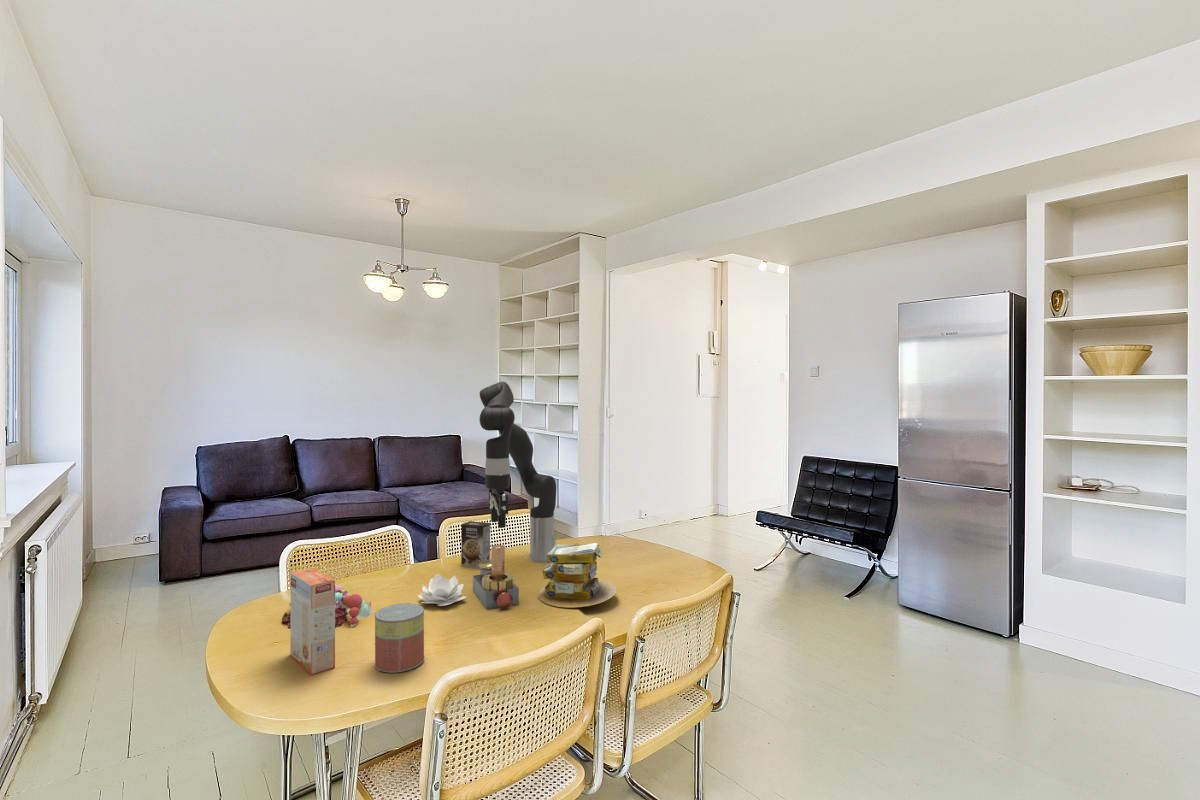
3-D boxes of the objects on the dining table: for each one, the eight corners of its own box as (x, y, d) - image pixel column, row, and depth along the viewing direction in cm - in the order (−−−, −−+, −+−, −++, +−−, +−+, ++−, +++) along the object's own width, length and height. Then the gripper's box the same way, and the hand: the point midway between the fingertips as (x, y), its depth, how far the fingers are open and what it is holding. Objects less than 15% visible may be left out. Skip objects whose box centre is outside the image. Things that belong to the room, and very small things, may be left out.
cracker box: (337, 668, 137) (336, 579, 137) (309, 677, 133) (309, 585, 132) (315, 649, 147) (315, 566, 147) (289, 657, 143) (289, 571, 142)
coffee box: (460, 567, 216) (460, 524, 216) (469, 562, 223) (469, 520, 222) (482, 569, 214) (482, 525, 214) (490, 564, 220) (490, 522, 220)
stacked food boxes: (594, 611, 170) (594, 553, 172) (523, 601, 181) (523, 547, 182) (627, 592, 192) (627, 541, 194) (562, 585, 203) (562, 536, 204)
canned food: (407, 647, 148) (407, 600, 148) (433, 660, 141) (433, 610, 141) (365, 663, 140) (365, 613, 139) (391, 677, 132) (391, 624, 132)
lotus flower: (463, 592, 190) (463, 565, 189) (468, 608, 175) (468, 579, 175) (417, 597, 185) (417, 570, 185) (418, 614, 171) (418, 584, 171)
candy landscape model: (270, 640, 154) (269, 605, 153) (290, 609, 176) (290, 578, 176) (371, 629, 160) (371, 596, 160) (379, 601, 183) (378, 571, 183)
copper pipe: (490, 584, 182) (490, 545, 182) (502, 582, 184) (502, 544, 184) (493, 588, 178) (493, 548, 178) (506, 586, 180) (506, 547, 180)
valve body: (472, 590, 191) (472, 562, 191) (502, 586, 195) (502, 558, 195) (488, 612, 172) (488, 580, 172) (521, 607, 176) (521, 576, 176)
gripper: (480, 470, 185) (480, 521, 186) (491, 476, 172) (492, 530, 173) (503, 468, 188) (503, 519, 189) (516, 474, 176) (516, 528, 176)
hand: (498, 524), depth 181 cm, fingers open, 8 cm apart
